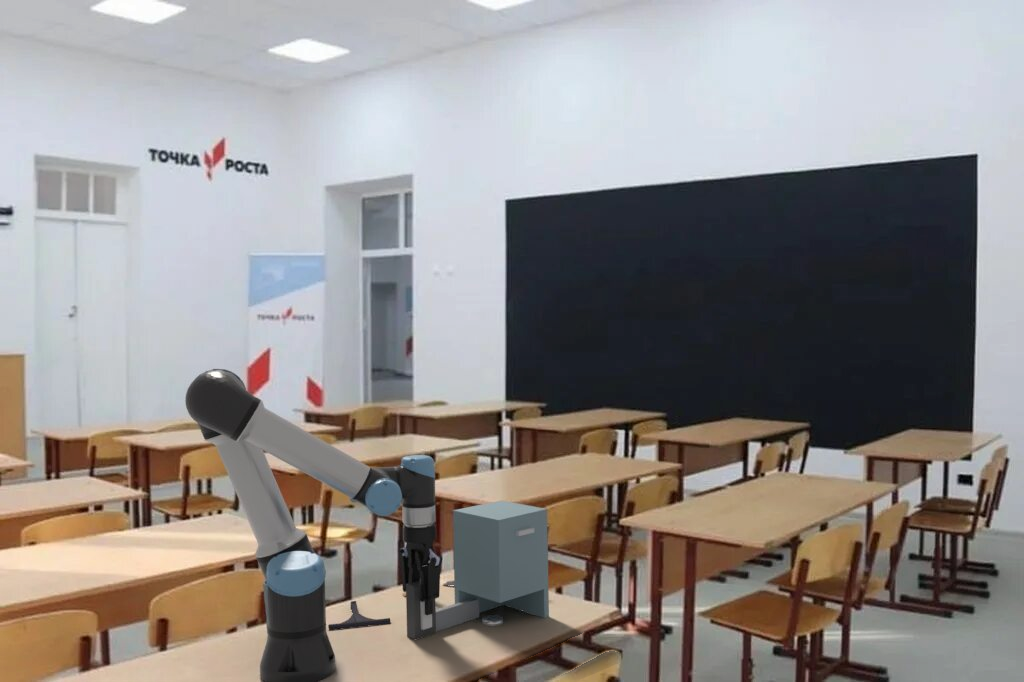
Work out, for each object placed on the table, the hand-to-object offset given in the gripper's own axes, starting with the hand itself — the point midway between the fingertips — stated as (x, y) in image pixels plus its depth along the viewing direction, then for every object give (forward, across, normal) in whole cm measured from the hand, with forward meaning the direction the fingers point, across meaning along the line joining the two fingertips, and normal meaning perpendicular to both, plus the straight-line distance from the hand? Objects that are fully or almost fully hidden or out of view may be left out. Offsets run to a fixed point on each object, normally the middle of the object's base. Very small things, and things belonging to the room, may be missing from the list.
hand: (421, 625), depth 206 cm
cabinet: (+2, -4, -21) cm, 22 cm away
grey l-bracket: (+2, 0, -7) cm, 7 cm away
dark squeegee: (+3, +22, +3) cm, 22 cm away
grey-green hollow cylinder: (+2, +23, +21) cm, 31 cm away
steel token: (+2, -6, -17) cm, 18 cm away
